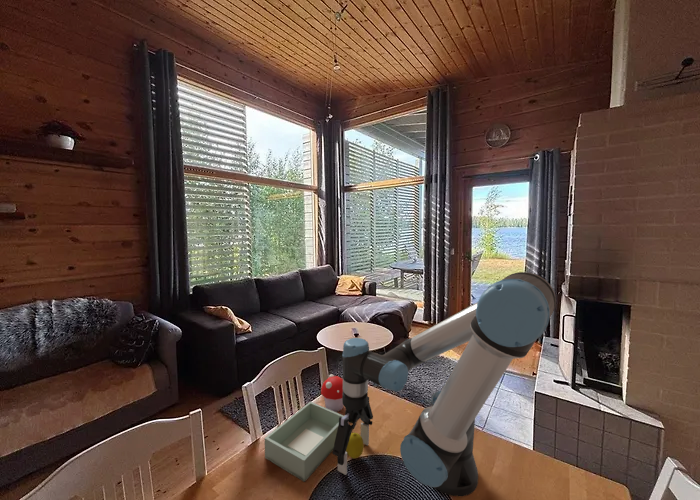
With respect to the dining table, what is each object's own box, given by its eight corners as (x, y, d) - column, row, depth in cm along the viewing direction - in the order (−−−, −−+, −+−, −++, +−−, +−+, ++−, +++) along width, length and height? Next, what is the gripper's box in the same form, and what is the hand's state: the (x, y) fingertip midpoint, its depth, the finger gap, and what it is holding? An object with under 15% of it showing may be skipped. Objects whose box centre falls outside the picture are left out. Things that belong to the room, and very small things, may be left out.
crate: (346, 434, 102) (346, 416, 102) (304, 482, 84) (304, 460, 84) (310, 418, 111) (310, 401, 110) (264, 457, 92) (264, 438, 92)
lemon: (361, 466, 90) (362, 441, 89) (343, 463, 91) (343, 438, 90) (364, 452, 95) (365, 428, 94) (347, 449, 96) (347, 425, 95)
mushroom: (337, 395, 125) (337, 367, 123) (354, 408, 116) (355, 378, 115) (315, 405, 118) (315, 376, 117) (332, 420, 110) (332, 388, 108)
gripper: (364, 369, 103) (363, 428, 105) (319, 408, 82) (319, 480, 85) (384, 376, 99) (382, 437, 101) (342, 418, 78) (342, 493, 81)
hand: (354, 456), depth 93 cm, fingers open, 12 cm apart
